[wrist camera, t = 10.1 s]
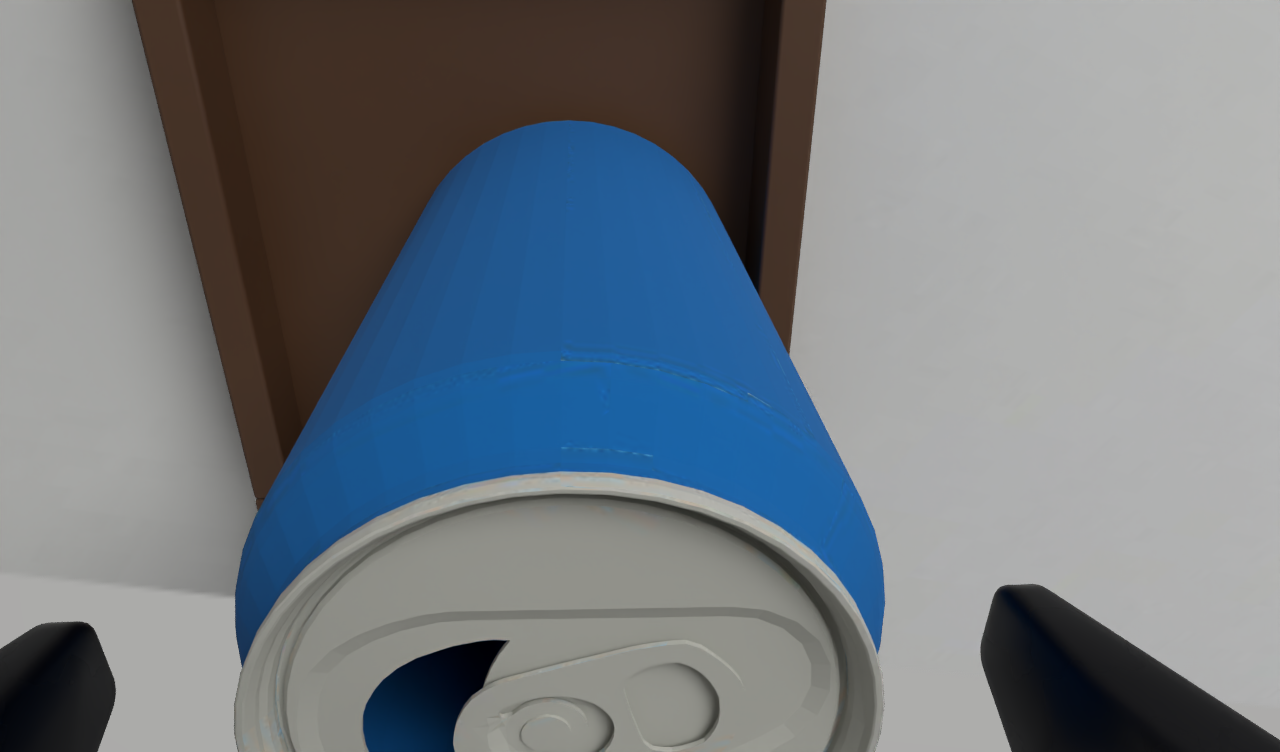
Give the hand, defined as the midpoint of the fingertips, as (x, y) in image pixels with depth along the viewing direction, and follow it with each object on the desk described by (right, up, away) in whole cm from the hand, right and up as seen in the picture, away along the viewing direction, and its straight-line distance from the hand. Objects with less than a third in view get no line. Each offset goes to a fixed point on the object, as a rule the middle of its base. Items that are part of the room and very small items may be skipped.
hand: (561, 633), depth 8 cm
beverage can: (-1, +5, +10) cm, 11 cm away
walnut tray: (-2, +6, +9) cm, 11 cm away
